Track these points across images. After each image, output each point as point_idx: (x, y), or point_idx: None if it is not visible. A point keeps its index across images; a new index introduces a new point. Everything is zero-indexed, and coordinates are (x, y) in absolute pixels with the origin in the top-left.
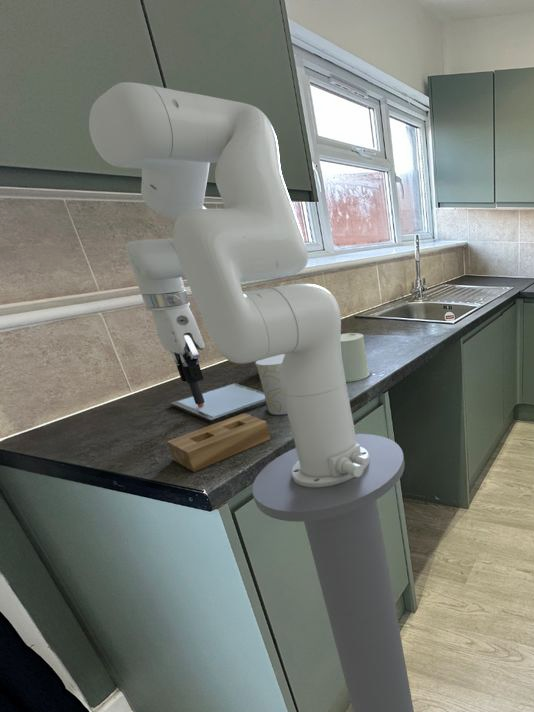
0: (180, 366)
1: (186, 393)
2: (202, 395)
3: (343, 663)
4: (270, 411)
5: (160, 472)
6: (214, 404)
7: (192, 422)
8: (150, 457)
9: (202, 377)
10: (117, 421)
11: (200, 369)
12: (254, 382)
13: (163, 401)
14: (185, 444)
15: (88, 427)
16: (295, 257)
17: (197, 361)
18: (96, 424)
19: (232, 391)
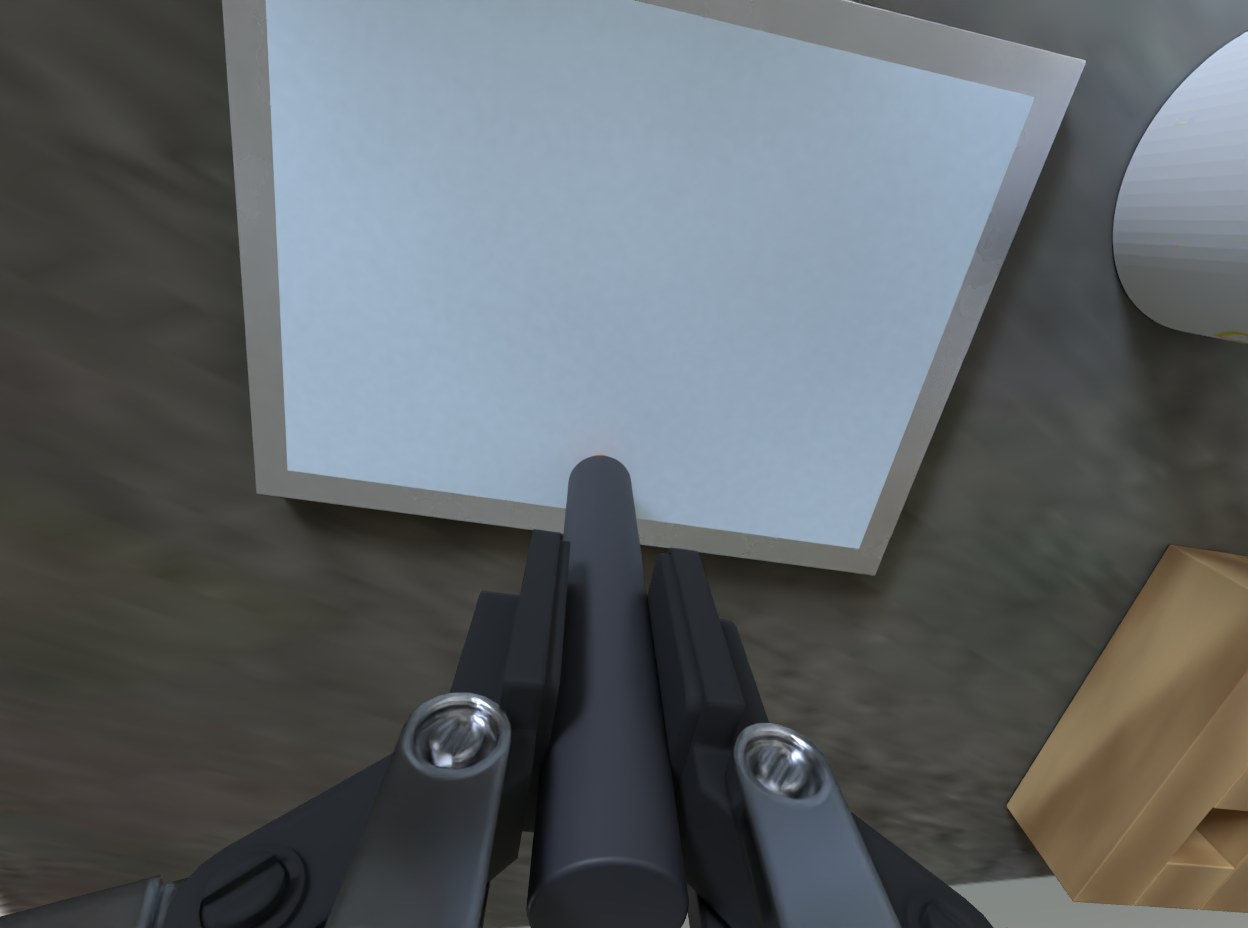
0: (532, 813)
1: (3, 251)
2: (624, 489)
3: None
4: (1193, 333)
5: (1029, 853)
6: (662, 410)
7: (724, 588)
8: (881, 821)
9: (697, 564)
10: (255, 716)
11: (719, 628)
12: None
13: (78, 446)
14: (1190, 889)
15: (210, 793)
16: None
17: (830, 789)
18: (196, 766)
19: (507, 115)
